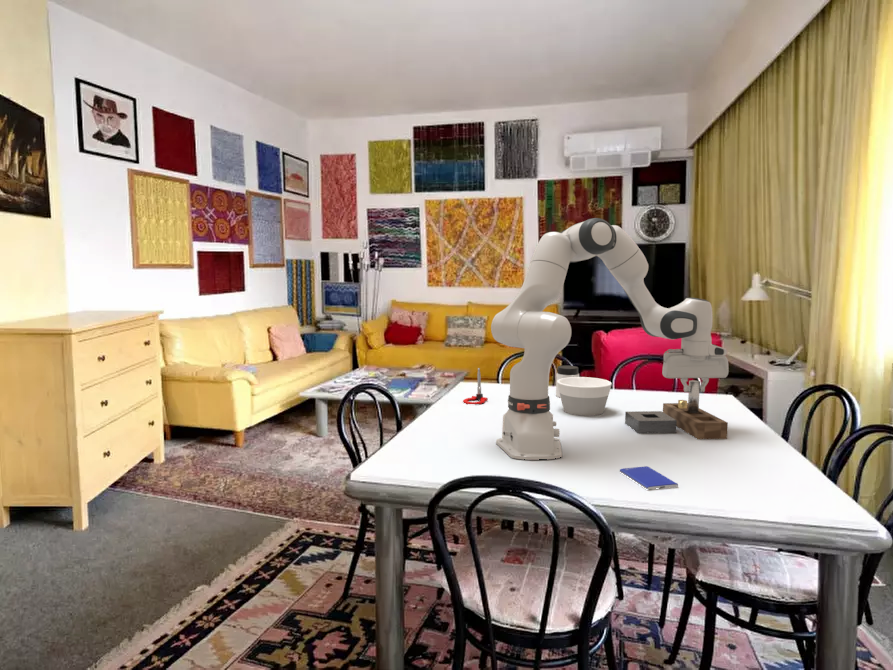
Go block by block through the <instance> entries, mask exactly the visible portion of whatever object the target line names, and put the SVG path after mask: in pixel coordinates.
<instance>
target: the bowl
mask: <svg viewBox="0 0 893 670" xmlns="http://www.w3.org/2000/svg"><path fill="white" fill-rule="evenodd" d="M557 384H558V388H559V392H560V396H561V398H560V399H561V405H562V409H563V411H564V412H565V413H567V414H570V415H574V416H584V417H586V416H587V417H588V416H590V417H591V416H599V415H602V414H603V413H604V412H605V409H606V405H607V402H608V399H609V398H608V397H609V395H610V392H611V388H612V384H613V383H612V382H611V380H610V381H609V380H607V379H605V378H598V377H590V376H589V377H587V376H579V377H568V378H562V379H559V380H558V381H557Z"/></svg>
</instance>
